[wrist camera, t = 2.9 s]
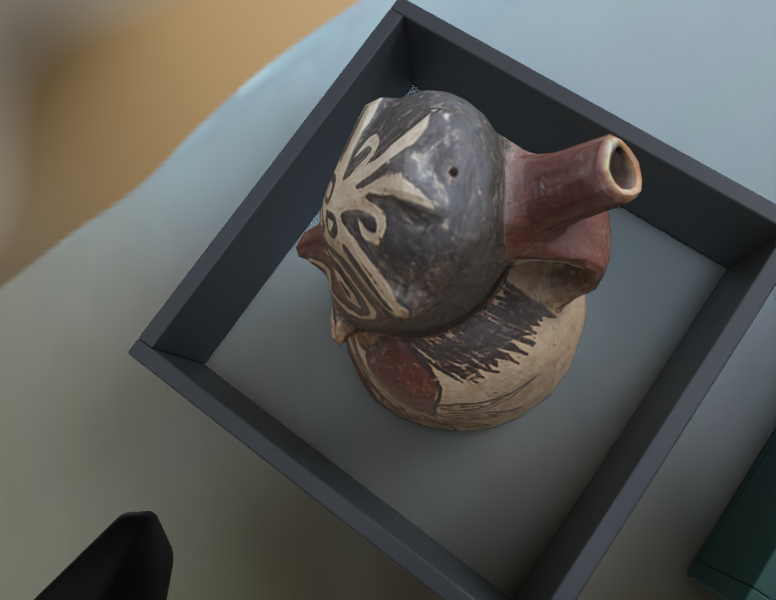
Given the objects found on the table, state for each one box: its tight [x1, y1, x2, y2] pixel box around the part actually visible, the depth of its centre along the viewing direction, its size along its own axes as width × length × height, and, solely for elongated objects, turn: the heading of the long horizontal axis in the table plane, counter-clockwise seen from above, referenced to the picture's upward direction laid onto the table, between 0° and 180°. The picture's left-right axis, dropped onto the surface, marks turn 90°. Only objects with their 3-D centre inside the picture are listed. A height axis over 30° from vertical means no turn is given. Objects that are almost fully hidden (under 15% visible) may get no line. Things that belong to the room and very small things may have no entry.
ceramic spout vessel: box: [296, 90, 642, 431], centre depth 15 cm, size 7×7×12 cm
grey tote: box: [128, 0, 776, 600], centre depth 19 cm, size 13×13×4 cm
